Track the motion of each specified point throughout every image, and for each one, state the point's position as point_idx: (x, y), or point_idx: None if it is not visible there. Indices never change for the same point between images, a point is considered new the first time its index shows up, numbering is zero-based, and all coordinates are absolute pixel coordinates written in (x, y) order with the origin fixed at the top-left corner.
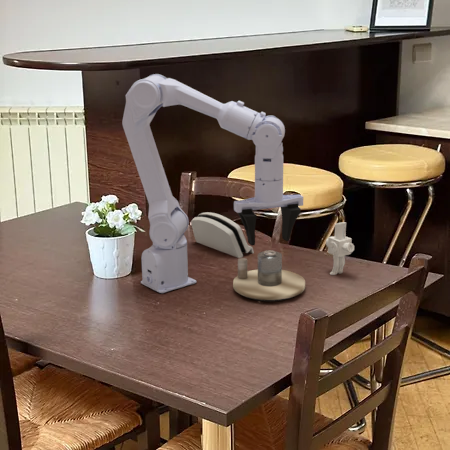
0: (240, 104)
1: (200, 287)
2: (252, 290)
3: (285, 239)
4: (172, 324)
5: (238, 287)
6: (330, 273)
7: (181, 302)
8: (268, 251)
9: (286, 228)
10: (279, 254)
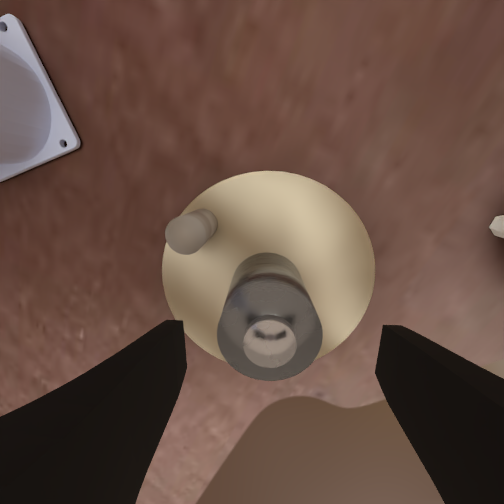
0: None
1: (91, 181)
2: (198, 323)
3: (379, 368)
4: (10, 360)
5: (168, 291)
6: (493, 224)
7: (32, 262)
8: (267, 336)
9: (428, 442)
10: (309, 348)
